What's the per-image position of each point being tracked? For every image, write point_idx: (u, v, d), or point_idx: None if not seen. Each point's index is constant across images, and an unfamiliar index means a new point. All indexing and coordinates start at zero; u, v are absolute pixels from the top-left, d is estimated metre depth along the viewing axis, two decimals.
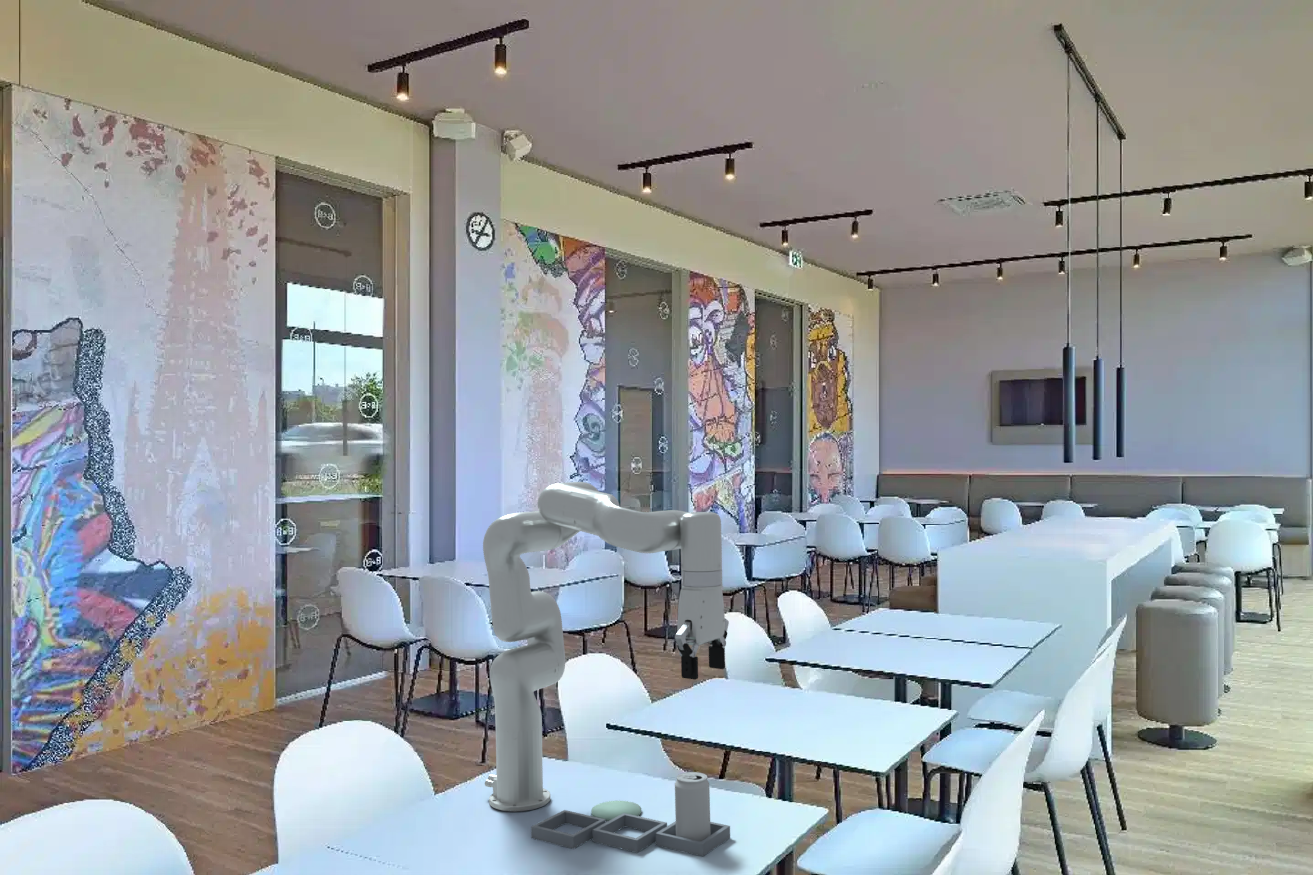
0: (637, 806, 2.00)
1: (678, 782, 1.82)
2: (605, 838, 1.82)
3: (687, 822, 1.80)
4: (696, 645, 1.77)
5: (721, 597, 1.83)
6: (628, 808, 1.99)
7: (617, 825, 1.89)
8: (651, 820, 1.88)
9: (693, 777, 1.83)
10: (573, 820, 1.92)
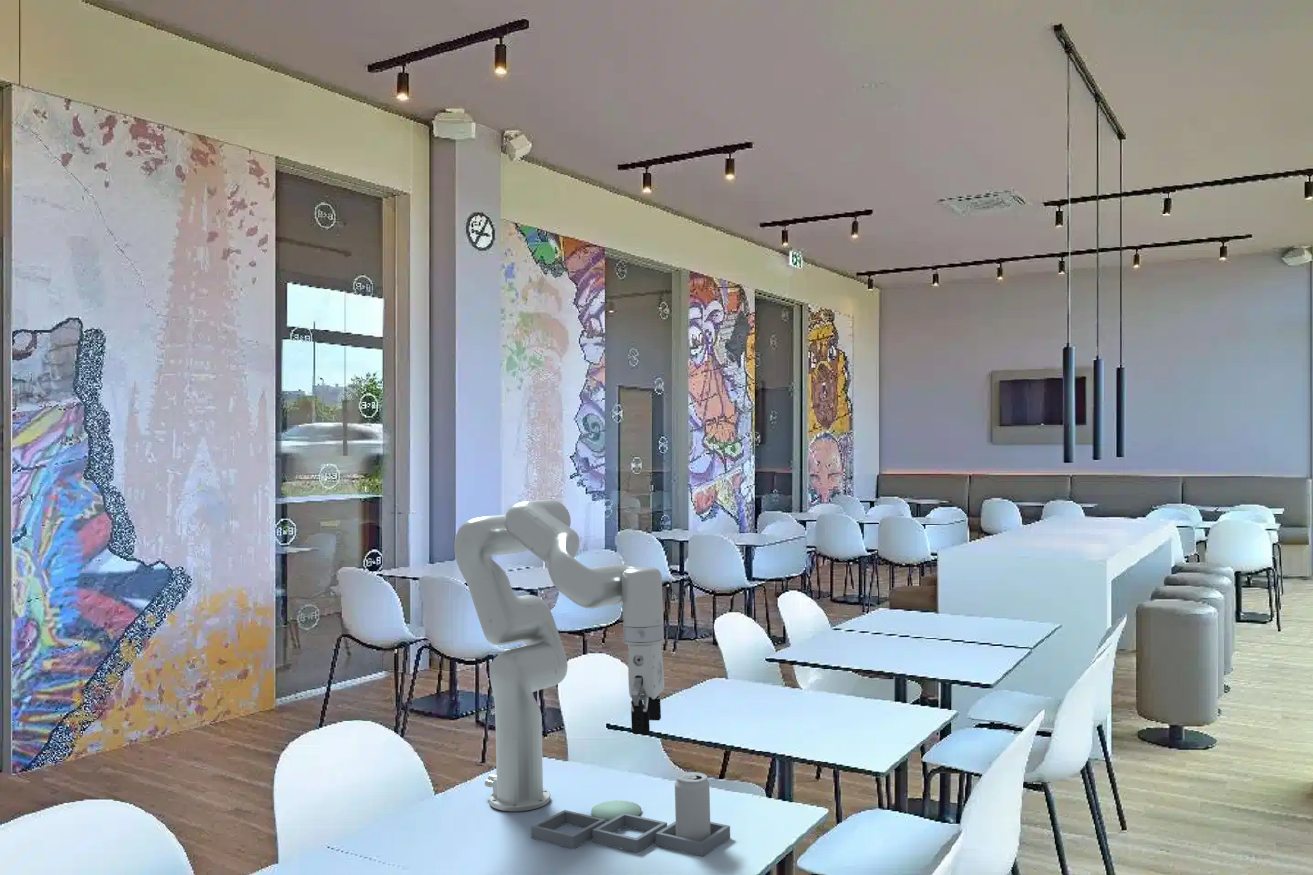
0: (637, 806, 2.00)
1: (678, 782, 1.82)
2: (605, 838, 1.82)
3: (687, 822, 1.80)
4: None
5: None
6: (628, 808, 1.99)
7: (617, 825, 1.89)
8: (651, 820, 1.88)
9: (693, 777, 1.83)
10: (573, 820, 1.92)
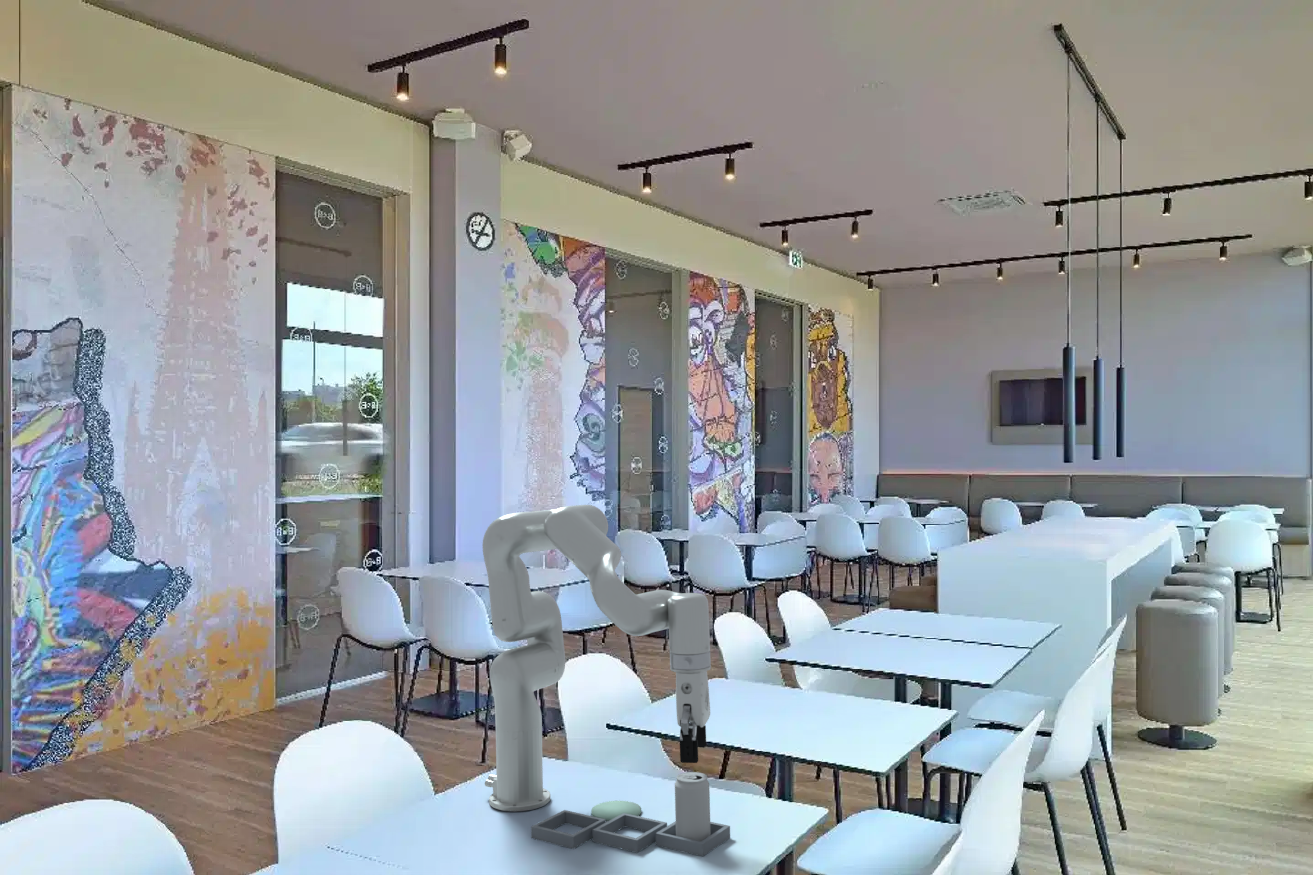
0: (637, 806, 2.00)
1: (678, 782, 1.82)
2: (605, 838, 1.82)
3: (687, 822, 1.80)
4: None
5: None
6: (628, 808, 1.99)
7: (617, 825, 1.89)
8: (651, 820, 1.88)
9: (693, 777, 1.83)
10: (573, 820, 1.92)
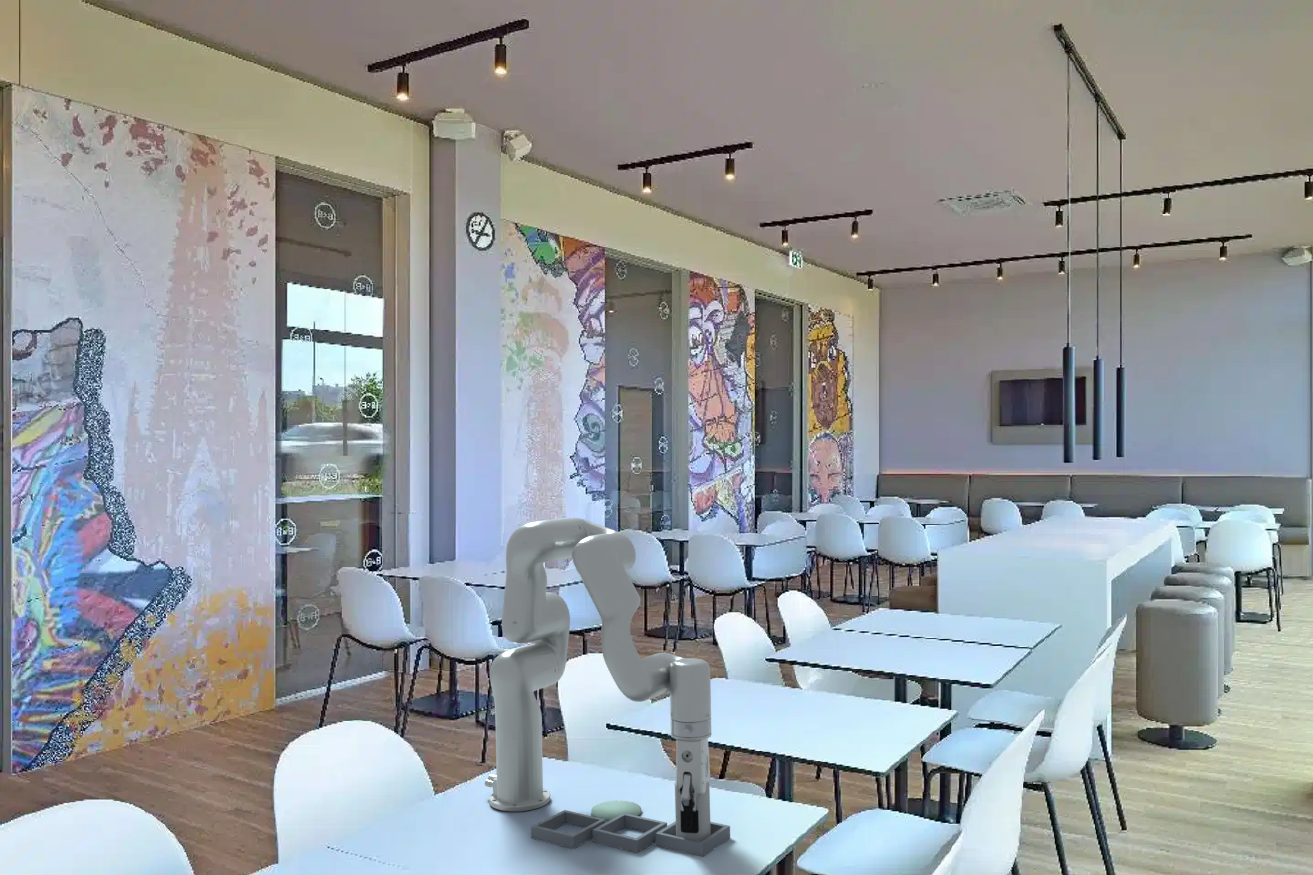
0: (637, 806, 2.00)
1: None
2: (605, 838, 1.82)
3: None
4: None
5: (676, 750, 1.80)
6: (628, 808, 1.99)
7: (617, 825, 1.89)
8: (651, 820, 1.88)
9: None
10: (573, 820, 1.92)
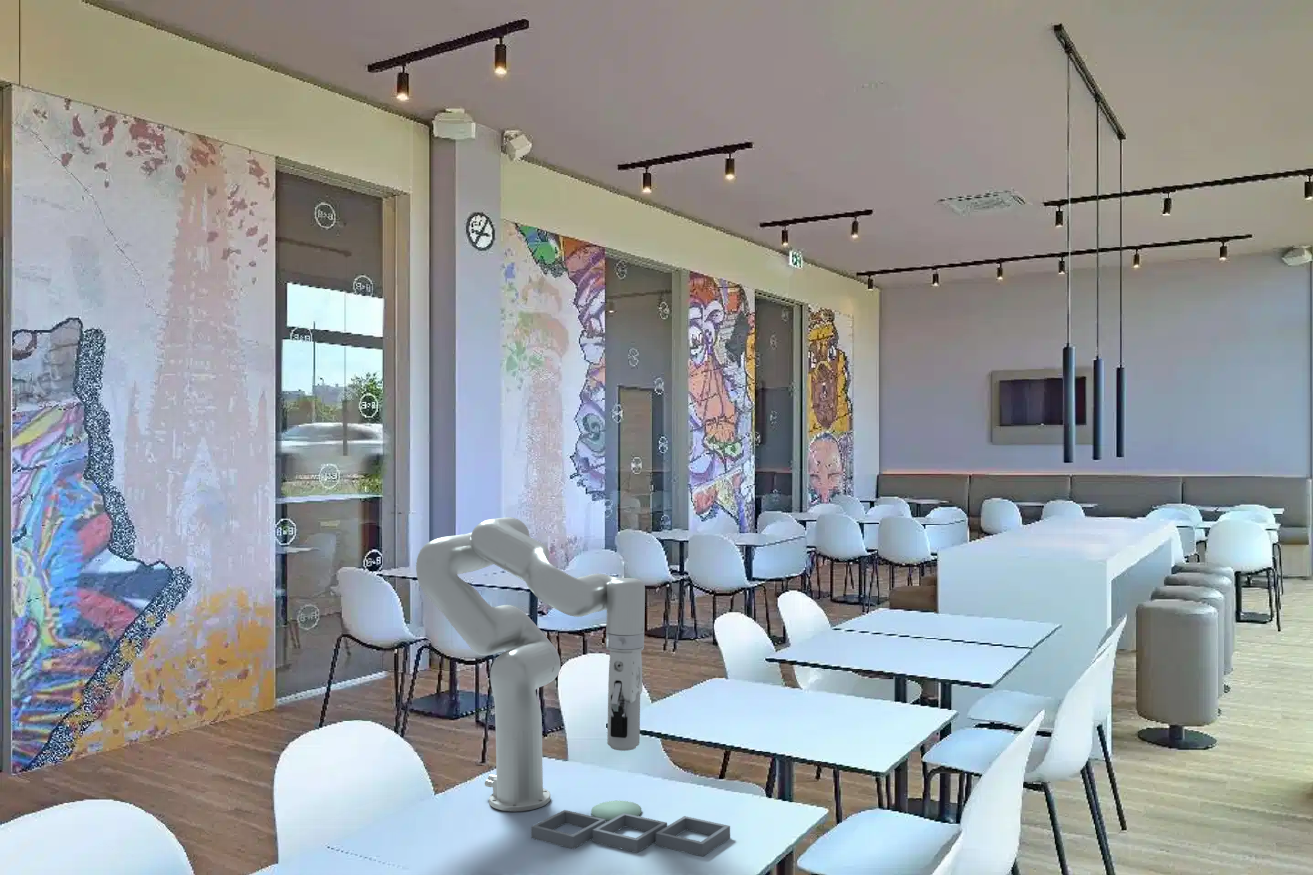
0: (637, 806, 2.00)
1: None
2: (605, 838, 1.82)
3: None
4: None
5: (609, 661, 1.94)
6: (628, 808, 1.99)
7: (617, 825, 1.89)
8: (651, 820, 1.88)
9: None
10: (573, 820, 1.92)
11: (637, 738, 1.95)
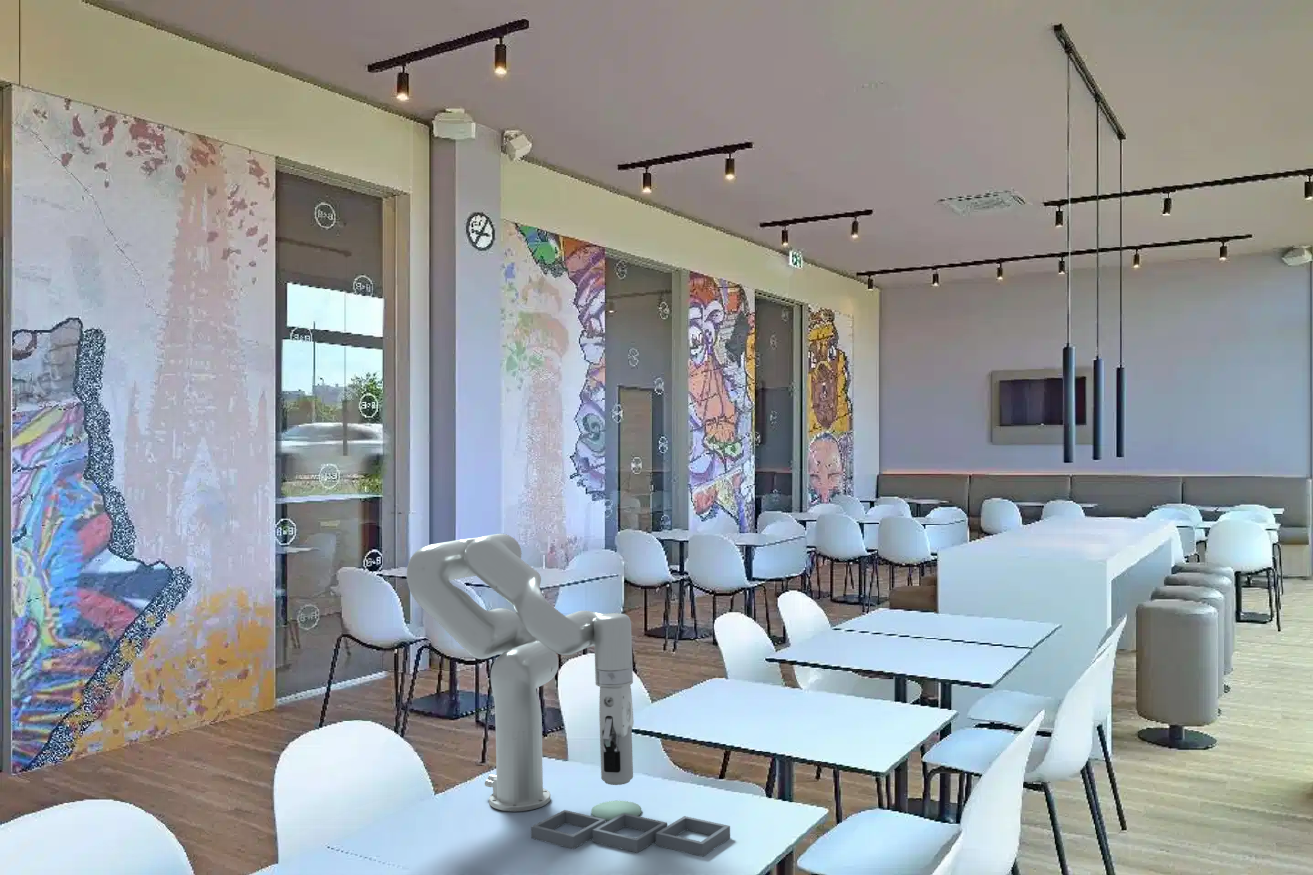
0: (637, 806, 2.00)
1: None
2: (605, 838, 1.82)
3: None
4: None
5: (599, 696, 1.96)
6: (628, 808, 1.99)
7: (617, 825, 1.89)
8: (651, 820, 1.88)
9: None
10: (573, 820, 1.92)
11: (630, 772, 1.97)
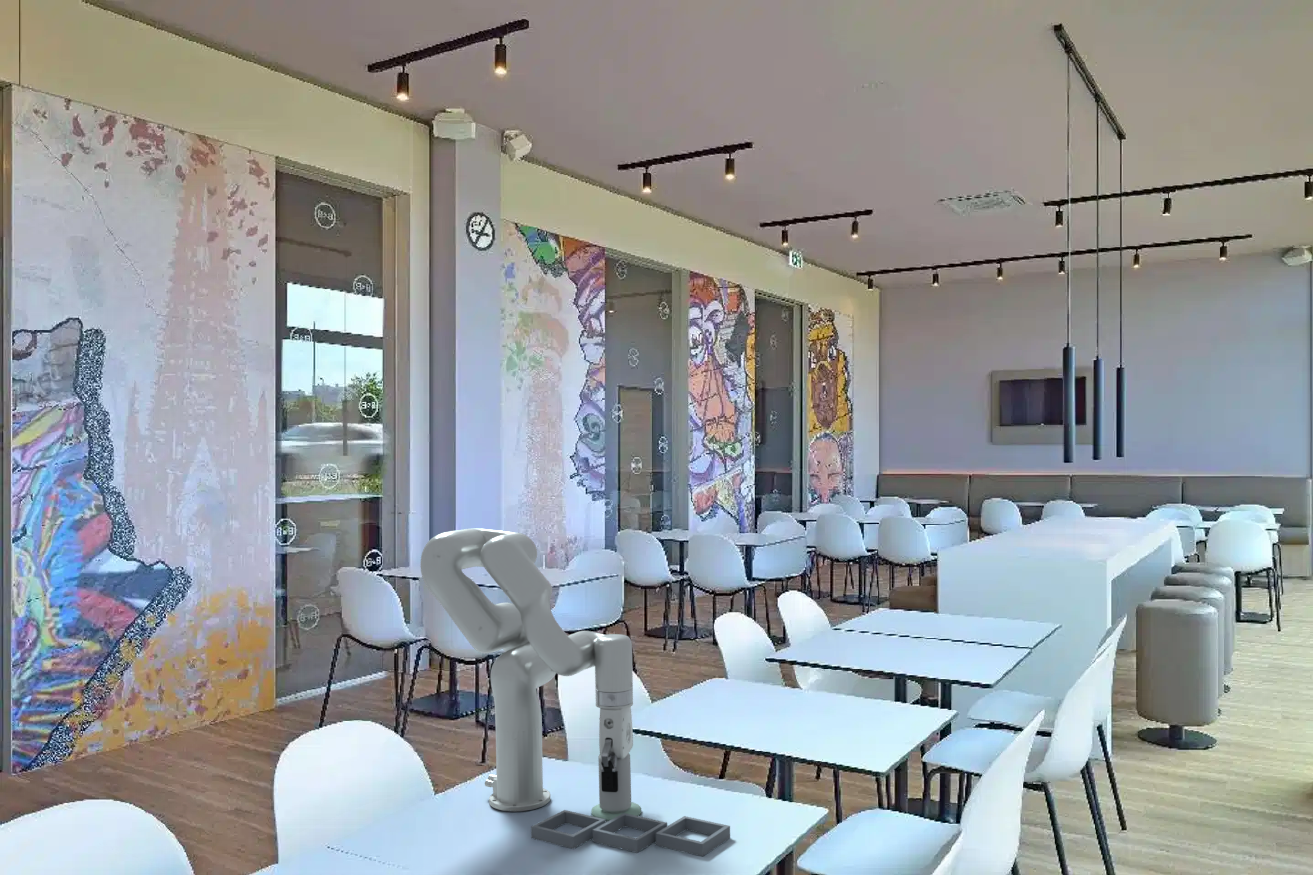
0: (637, 806, 2.00)
1: None
2: (605, 838, 1.82)
3: None
4: None
5: (599, 718, 1.96)
6: None
7: (617, 825, 1.89)
8: (651, 820, 1.88)
9: None
10: (573, 820, 1.92)
11: (629, 800, 1.97)
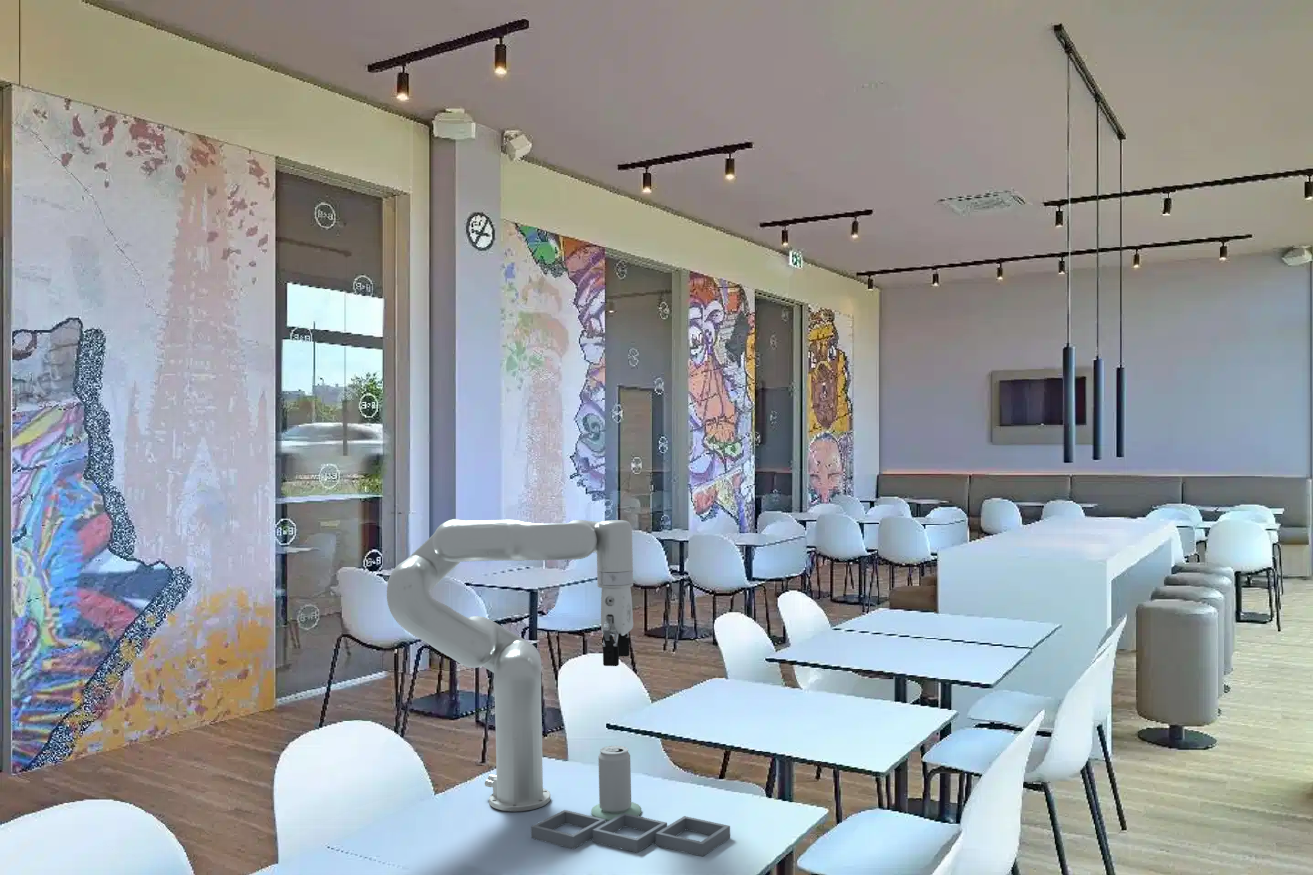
0: (637, 806, 2.00)
1: (601, 754, 1.97)
2: (605, 838, 1.82)
3: (608, 790, 1.95)
4: None
5: None
6: None
7: (617, 825, 1.89)
8: (651, 820, 1.88)
9: (615, 750, 1.98)
10: (573, 820, 1.92)
11: (629, 800, 1.97)
